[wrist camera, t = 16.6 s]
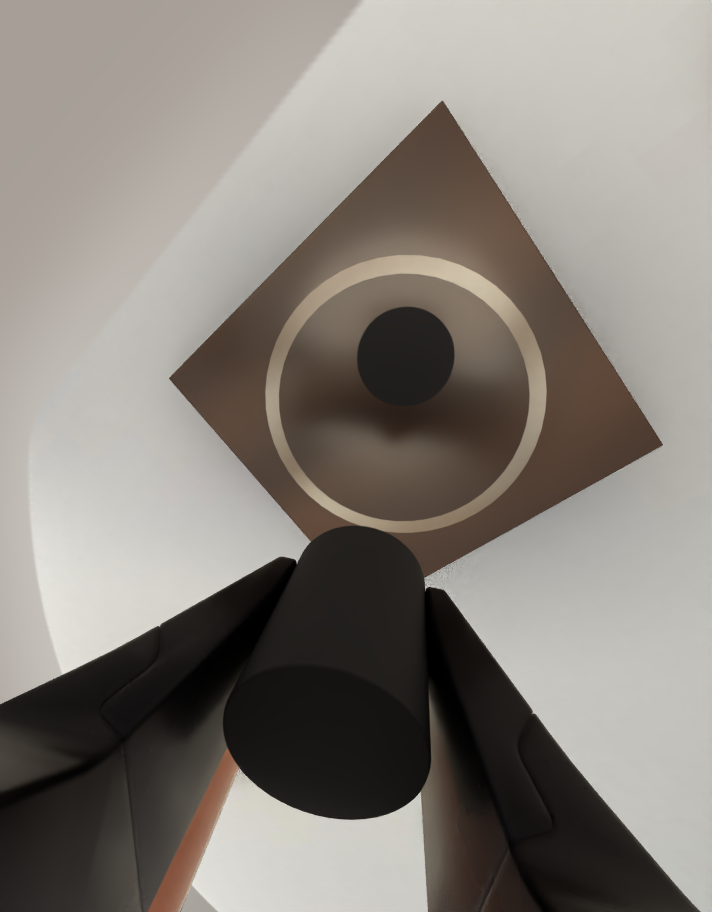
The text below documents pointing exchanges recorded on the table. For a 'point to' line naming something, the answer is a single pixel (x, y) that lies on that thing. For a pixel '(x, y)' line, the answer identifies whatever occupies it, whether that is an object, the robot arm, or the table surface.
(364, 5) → the table surface
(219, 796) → the pedestal
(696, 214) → the table surface
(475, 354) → the board
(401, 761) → the dot
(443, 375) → the dot
